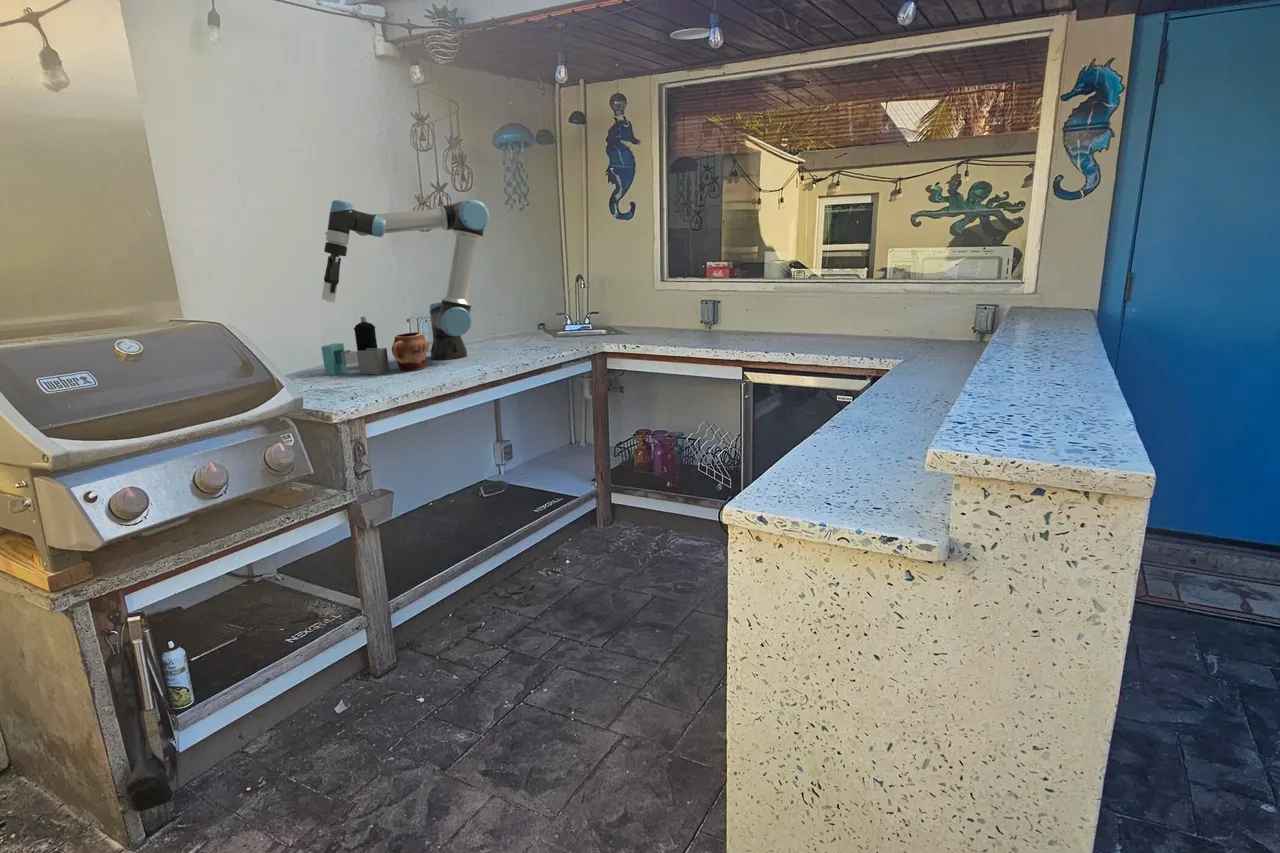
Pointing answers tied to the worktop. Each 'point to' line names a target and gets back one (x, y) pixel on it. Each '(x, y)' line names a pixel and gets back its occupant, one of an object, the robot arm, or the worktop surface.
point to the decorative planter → (410, 351)
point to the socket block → (333, 359)
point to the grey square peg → (349, 357)
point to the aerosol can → (365, 335)
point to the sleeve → (373, 361)
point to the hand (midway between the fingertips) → (328, 301)
